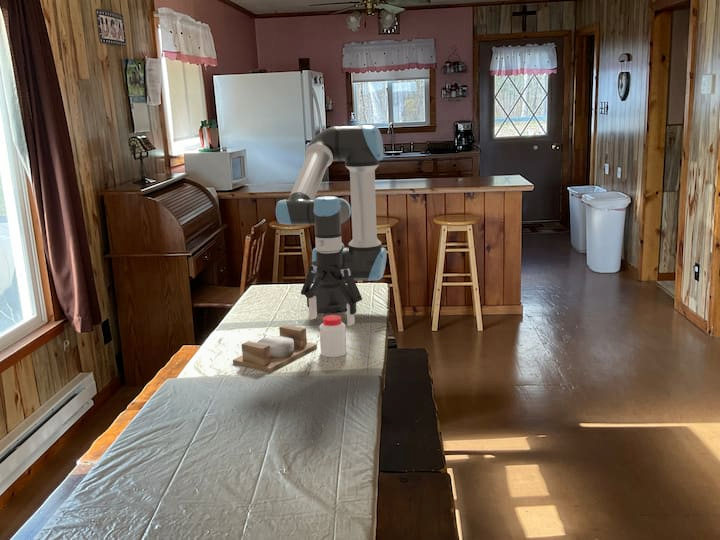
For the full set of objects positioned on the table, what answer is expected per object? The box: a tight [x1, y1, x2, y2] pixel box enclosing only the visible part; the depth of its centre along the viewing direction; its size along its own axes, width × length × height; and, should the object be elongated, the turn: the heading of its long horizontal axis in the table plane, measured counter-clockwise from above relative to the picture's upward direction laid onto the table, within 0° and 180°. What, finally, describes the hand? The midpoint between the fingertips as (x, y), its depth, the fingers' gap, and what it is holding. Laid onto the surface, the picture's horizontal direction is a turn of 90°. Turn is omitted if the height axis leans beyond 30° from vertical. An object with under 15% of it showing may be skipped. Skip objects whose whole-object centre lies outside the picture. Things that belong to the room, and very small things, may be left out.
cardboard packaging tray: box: [232, 324, 318, 373], centre depth 202 cm, size 22×14×6 cm, turn 147°
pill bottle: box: [318, 314, 347, 358], centre depth 202 cm, size 8×8×11 cm
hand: (331, 321), depth 201 cm, fingers open, 13 cm apart
